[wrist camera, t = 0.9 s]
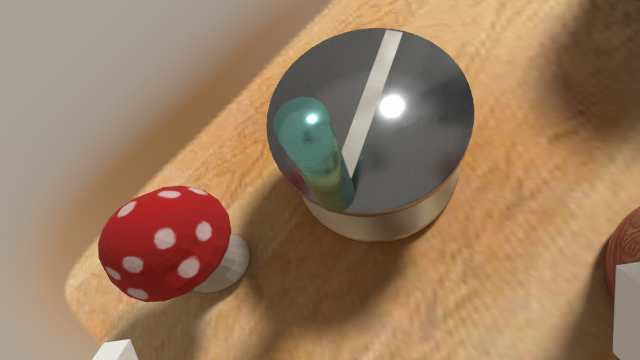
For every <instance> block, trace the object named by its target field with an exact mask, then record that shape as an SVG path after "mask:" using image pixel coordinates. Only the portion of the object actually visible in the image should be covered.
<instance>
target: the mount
mask: <svg viewBox="0 0 640 360" xmlns="http://www.w3.org/2000/svg"><path fill="white" fill-rule="evenodd" d="M459 172H460V166H459V167H458V169H457V170H456V172H455V173H454V175H453V176H452V177H451V179H450V180H449V181H448V182H447V183H446V184H445V185H444V186H443V187H442V188H441V189H440V190H439V191H437V192H436V193H435V194H434V195H432V196H431V197H430V198H428V199H426V200H425V201H423V202H421V203H420V204H418V205H416V206H414V207H411V208H409V209H407V210H404V211H401V212H398V213H394V214H391V215H385V216H378V217H354V216H347V215H342V214H338V213H334V212H329V211H327V210H325V209H323V208H321V207H319V206H317V205H316V204H314V203H312V202H310V201H309V200H308V199H306V198H305V197H303V196H302V195H301V194H300V196H301V197H302V199H303V201H304V203H305V204H306V206H307V207H308V208H309V210H310V211H311V212H312V214H313V215H314V216H315V217H316V218H317V219H318V220H319V221H320V222H321V223H322V224H323V225H324V226H326V227H327V228H328V229H330V230H331V231H333V232H335V233H337V234H339V235H341V236H344V237H346V238H349V239H352V240H356V241H360V242H369V243H383V242H390V241H395V240H399V239H402V238H406V237H408V236H410V235H413V234H415V233H417V232H418V231H420V230H422V229H423V228H425V227H426V226H428V225H429V224H430V223H432V222H433V221H434V220H435V219H436V218H437V217H438V216H439V215H440V214H441V213H442V211H443V210H444V209H445V207H446V206H447V205H448V203H449V201H450V199H451V197H452V195H453V193H454V190H455V187H456V185H457V181H458V177H459Z"/></svg>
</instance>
